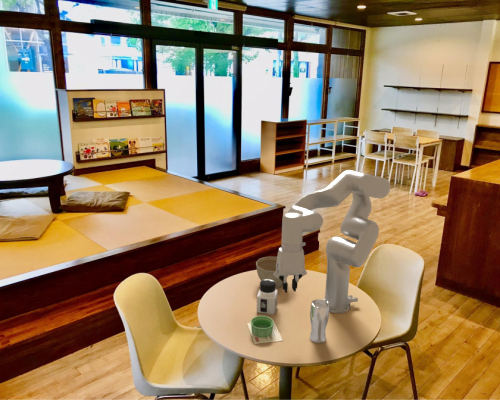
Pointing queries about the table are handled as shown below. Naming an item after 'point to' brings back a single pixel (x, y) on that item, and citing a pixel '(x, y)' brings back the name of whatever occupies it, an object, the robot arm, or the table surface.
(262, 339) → the letter
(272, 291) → the container
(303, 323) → the table surface
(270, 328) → the ramekin
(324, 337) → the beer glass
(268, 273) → the planter bowl
